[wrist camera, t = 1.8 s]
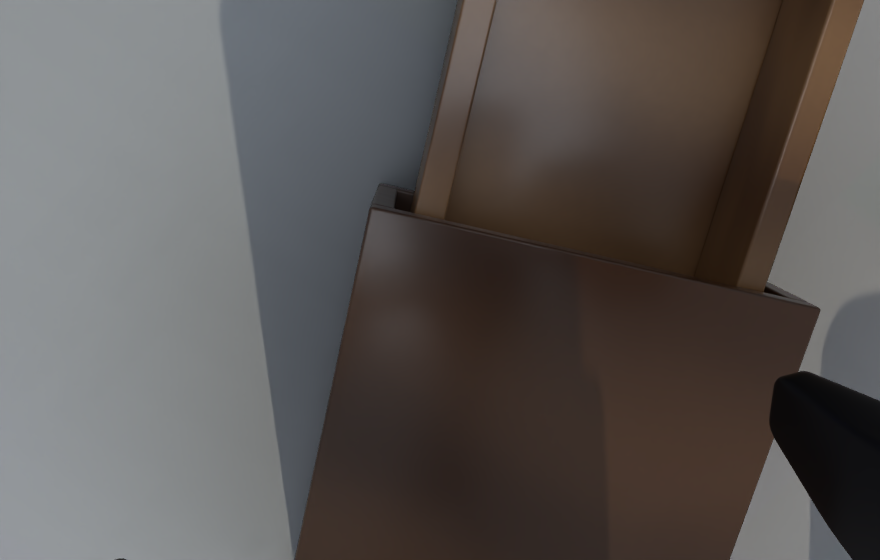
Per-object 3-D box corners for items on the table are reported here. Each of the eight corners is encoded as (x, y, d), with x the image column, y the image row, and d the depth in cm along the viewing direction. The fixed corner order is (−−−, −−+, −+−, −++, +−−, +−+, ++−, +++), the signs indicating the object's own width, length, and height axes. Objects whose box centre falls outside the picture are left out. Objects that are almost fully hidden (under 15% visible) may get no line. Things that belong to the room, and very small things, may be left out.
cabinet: (379, 182, 23) (370, 206, 17) (731, 263, 24) (822, 308, 18) (294, 574, 26) (265, 695, 21) (609, 630, 27) (657, 758, 22)
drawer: (517, -352, 19) (543, -464, 15) (890, -239, 20) (1000, -317, 16) (379, 271, 22) (373, 304, 19) (699, 341, 23) (753, 386, 20)
